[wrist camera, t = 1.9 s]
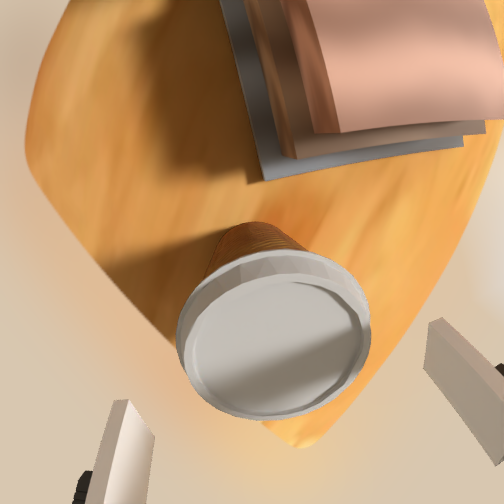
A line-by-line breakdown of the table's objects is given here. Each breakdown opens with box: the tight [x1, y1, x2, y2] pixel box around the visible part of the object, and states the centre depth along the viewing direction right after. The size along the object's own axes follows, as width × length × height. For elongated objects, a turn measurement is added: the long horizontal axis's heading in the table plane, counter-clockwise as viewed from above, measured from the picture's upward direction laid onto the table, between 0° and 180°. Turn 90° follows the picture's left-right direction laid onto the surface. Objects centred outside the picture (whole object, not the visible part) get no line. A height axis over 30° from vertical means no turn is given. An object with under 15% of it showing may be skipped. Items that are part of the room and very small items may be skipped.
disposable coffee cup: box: [176, 222, 371, 421], centre depth 19 cm, size 10×10×12 cm
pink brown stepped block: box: [219, 0, 504, 181], centre depth 15 cm, size 18×18×10 cm
